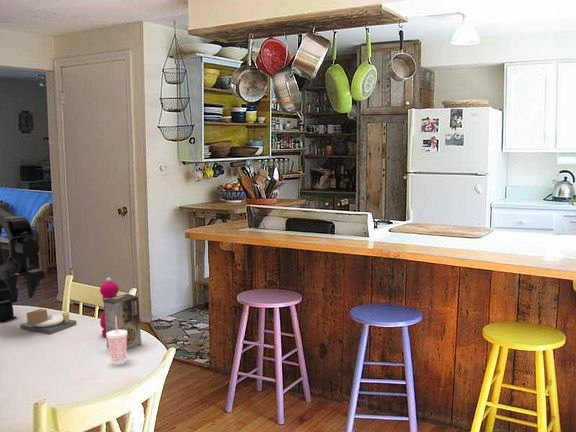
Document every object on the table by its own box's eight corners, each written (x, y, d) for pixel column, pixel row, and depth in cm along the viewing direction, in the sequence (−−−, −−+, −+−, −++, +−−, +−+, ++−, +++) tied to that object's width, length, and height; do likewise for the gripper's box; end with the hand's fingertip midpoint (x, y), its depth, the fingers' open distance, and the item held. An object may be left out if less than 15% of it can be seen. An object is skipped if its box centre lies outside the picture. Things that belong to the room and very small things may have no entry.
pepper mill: (99, 333, 209) (96, 276, 206) (120, 330, 212) (117, 274, 209) (102, 339, 202) (99, 281, 200) (124, 336, 205) (121, 278, 203)
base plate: (20, 328, 215) (19, 324, 215) (47, 319, 226) (47, 315, 226) (49, 334, 208) (49, 330, 208) (76, 324, 219) (76, 320, 219)
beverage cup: (107, 366, 178) (104, 320, 176) (108, 359, 184) (105, 314, 182) (129, 364, 180) (126, 318, 178) (128, 356, 186) (126, 312, 184)
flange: (20, 326, 213) (18, 311, 212) (50, 316, 224) (49, 302, 224) (41, 330, 208) (40, 315, 207) (71, 319, 219) (70, 305, 218)
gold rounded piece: (62, 323, 216) (61, 313, 215) (66, 321, 218) (65, 312, 217) (66, 324, 215) (65, 314, 214) (70, 322, 217) (69, 313, 216)
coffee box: (129, 340, 201) (127, 293, 199) (141, 344, 197) (139, 296, 195) (106, 348, 194) (103, 299, 192) (118, 352, 190) (115, 302, 188)
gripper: (-20, 255, 208) (-17, 299, 210) (18, 260, 200) (21, 306, 202) (7, 249, 218) (10, 291, 220) (45, 253, 210) (47, 297, 212)
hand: (21, 296), depth 213 cm, fingers open, 8 cm apart
